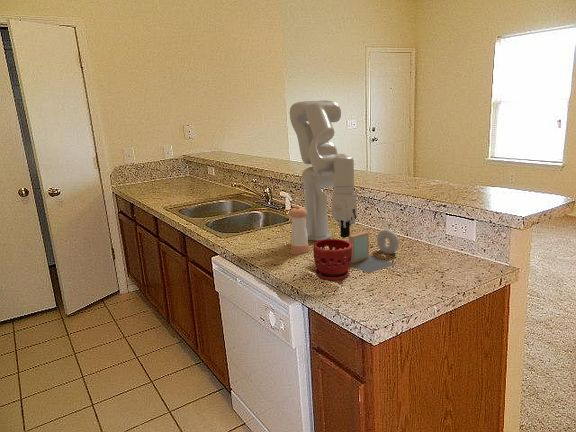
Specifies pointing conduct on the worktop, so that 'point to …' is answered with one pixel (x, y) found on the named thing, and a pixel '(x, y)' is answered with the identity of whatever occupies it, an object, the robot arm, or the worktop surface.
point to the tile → (359, 246)
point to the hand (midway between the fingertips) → (345, 236)
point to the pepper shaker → (299, 231)
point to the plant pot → (332, 259)
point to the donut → (392, 239)
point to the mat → (371, 264)
